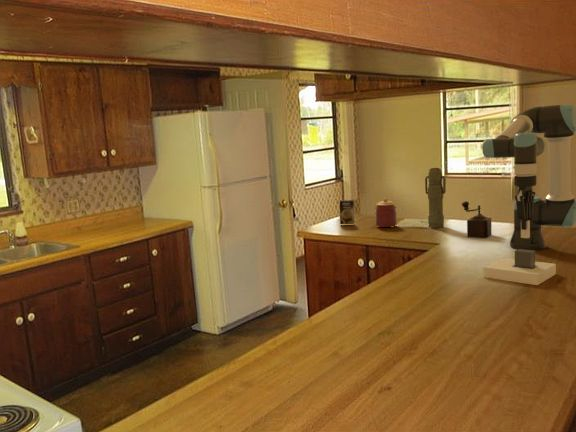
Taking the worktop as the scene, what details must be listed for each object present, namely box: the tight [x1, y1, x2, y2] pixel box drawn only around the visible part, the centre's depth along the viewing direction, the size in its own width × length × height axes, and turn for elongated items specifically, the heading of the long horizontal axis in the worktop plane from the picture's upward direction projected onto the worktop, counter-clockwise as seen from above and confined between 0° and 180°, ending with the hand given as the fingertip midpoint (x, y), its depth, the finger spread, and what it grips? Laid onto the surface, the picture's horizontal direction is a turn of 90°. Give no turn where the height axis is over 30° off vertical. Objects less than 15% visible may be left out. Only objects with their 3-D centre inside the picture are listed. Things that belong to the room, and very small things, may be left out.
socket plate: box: [482, 257, 557, 286], centre depth 202 cm, size 18×20×4 cm
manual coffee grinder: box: [461, 200, 492, 239], centre depth 281 cm, size 16×11×18 cm
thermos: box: [424, 167, 447, 229], centre depth 311 cm, size 9×12×35 cm
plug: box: [514, 249, 536, 269], centre depth 200 cm, size 4×6×10 cm, turn 43°
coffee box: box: [339, 199, 355, 225], centre depth 338 cm, size 9×6×16 cm
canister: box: [374, 197, 398, 227], centre depth 325 cm, size 13×13×18 cm
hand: (525, 237), depth 199 cm, fingers closed
